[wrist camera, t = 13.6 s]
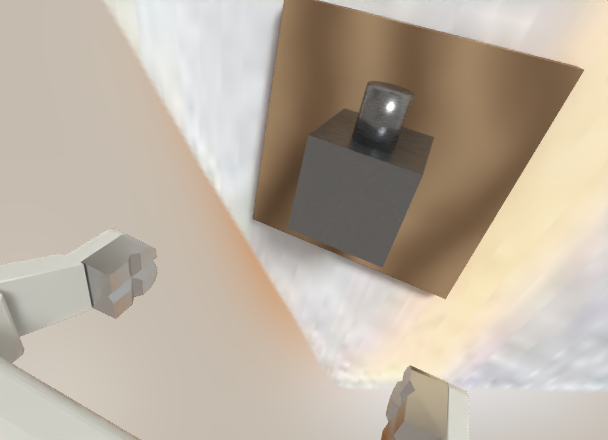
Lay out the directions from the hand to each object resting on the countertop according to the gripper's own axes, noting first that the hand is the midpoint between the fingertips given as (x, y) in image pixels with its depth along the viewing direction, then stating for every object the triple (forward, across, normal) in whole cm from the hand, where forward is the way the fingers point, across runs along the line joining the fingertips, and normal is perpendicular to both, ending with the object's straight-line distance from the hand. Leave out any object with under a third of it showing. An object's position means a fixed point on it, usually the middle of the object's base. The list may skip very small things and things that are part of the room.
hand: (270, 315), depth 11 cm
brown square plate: (+20, 0, +2) cm, 20 cm away
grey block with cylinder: (+18, 0, +1) cm, 18 cm away
